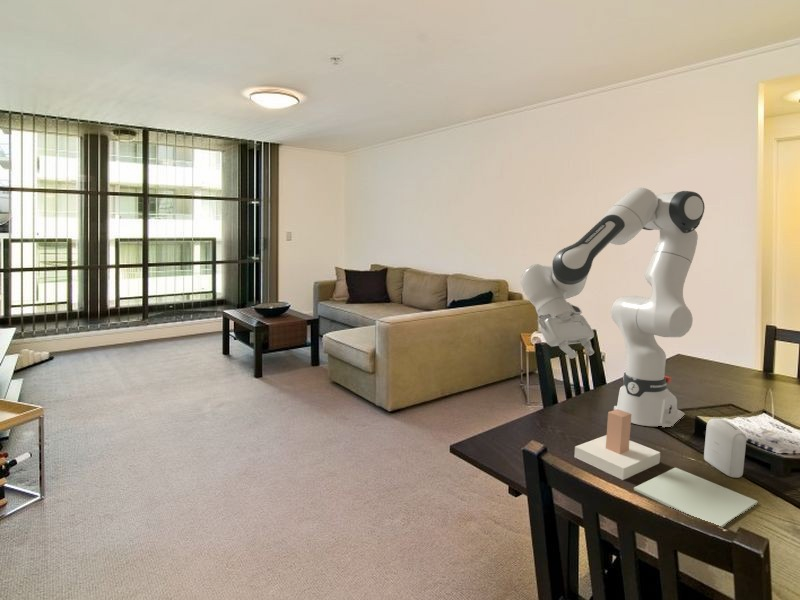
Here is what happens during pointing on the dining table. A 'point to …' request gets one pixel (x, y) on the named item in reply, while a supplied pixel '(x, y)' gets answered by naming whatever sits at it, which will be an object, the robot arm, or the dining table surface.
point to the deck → (617, 458)
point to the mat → (696, 496)
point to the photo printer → (725, 447)
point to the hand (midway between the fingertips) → (582, 355)
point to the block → (618, 431)
